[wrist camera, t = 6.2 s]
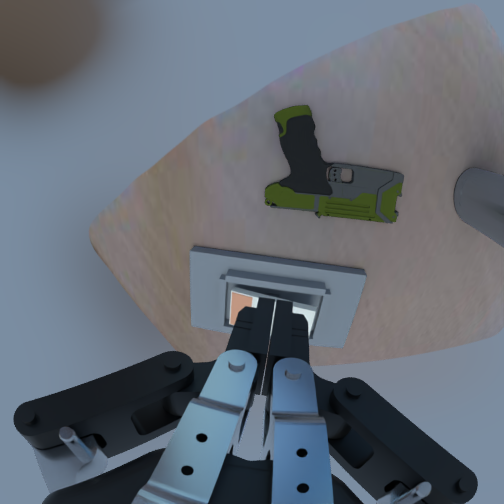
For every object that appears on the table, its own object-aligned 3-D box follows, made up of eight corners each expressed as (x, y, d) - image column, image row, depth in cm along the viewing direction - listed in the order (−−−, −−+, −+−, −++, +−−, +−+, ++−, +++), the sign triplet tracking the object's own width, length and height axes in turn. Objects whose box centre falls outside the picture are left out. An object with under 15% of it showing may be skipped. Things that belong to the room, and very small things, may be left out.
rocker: (316, 307, 36) (315, 312, 35) (308, 340, 38) (306, 345, 37) (234, 286, 39) (230, 291, 38) (232, 319, 42) (228, 324, 40)
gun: (404, 123, 30) (391, 223, 37) (270, 104, 32) (265, 210, 39) (411, 122, 28) (397, 229, 34) (268, 101, 30) (263, 215, 36)
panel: (363, 269, 39) (369, 282, 35) (341, 340, 44) (343, 356, 41) (194, 245, 41) (184, 256, 38) (195, 319, 47) (187, 333, 43)
